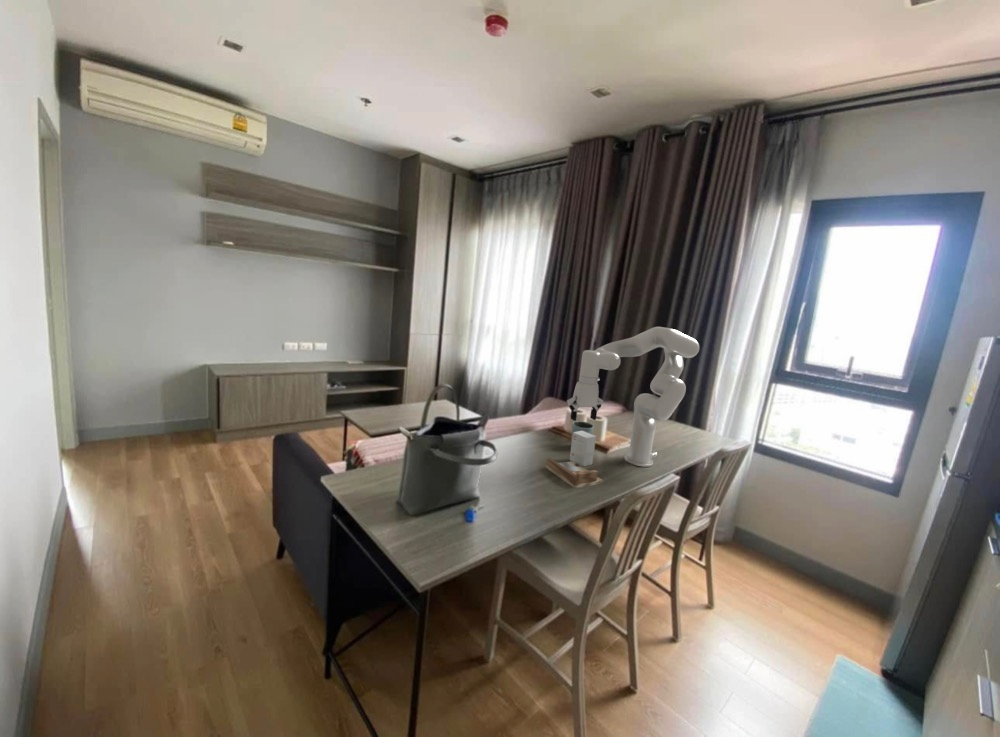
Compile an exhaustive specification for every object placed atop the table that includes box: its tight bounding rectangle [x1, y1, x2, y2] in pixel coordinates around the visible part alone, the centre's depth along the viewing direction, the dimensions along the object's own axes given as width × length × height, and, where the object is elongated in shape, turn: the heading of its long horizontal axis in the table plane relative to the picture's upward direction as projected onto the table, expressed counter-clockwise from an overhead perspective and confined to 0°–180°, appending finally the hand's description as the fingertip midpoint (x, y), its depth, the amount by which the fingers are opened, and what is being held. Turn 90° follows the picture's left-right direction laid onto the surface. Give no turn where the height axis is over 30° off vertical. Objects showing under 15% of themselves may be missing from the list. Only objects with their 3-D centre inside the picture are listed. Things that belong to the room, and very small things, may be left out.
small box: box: [569, 431, 597, 468], centre depth 179 cm, size 8×6×13 cm
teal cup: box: [570, 420, 595, 446], centre depth 197 cm, size 10×10×12 cm
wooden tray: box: [545, 457, 604, 489], centre depth 166 cm, size 14×19×5 cm
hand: (583, 419), depth 174 cm, fingers open, 9 cm apart
